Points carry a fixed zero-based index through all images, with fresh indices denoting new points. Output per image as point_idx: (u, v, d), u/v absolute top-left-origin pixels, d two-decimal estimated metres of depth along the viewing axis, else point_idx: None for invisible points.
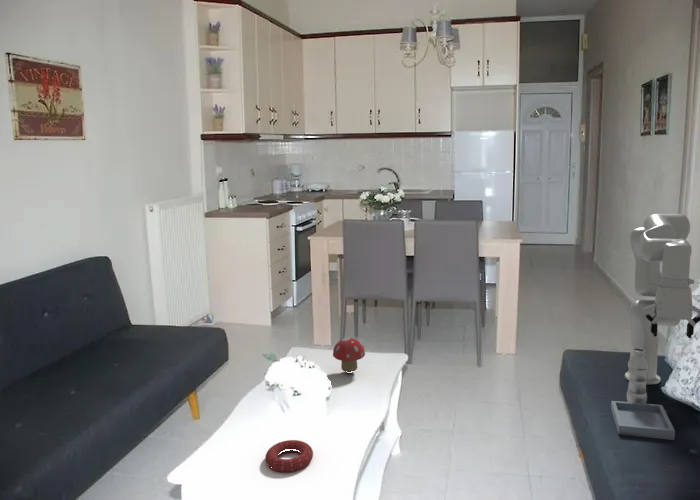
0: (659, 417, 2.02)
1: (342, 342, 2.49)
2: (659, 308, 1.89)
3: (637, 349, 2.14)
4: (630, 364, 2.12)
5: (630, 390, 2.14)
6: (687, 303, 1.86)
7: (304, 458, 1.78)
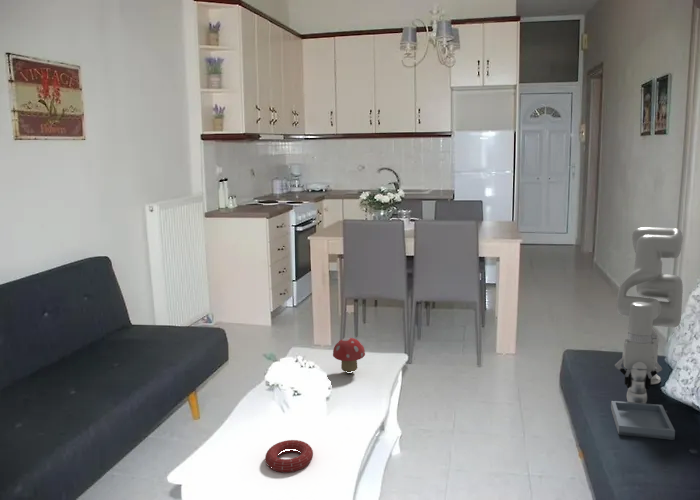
0: (659, 417, 2.02)
1: (342, 342, 2.49)
2: (626, 360, 2.12)
3: None
4: None
5: (630, 390, 2.14)
6: (650, 356, 2.09)
7: (304, 458, 1.78)
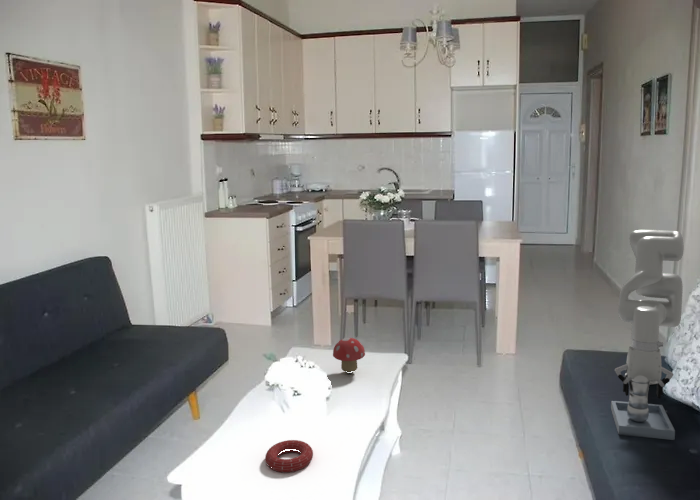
0: (659, 417, 2.02)
1: (342, 342, 2.49)
2: (630, 369, 1.97)
3: None
4: None
5: (630, 405, 1.99)
6: (656, 365, 1.94)
7: (304, 458, 1.78)
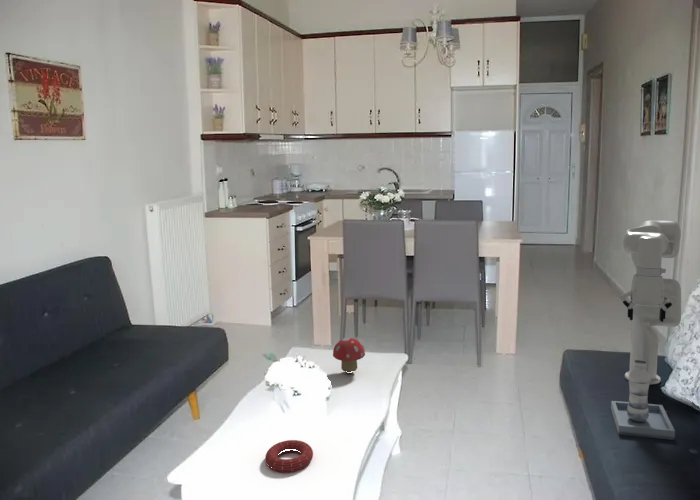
0: (659, 417, 2.02)
1: (342, 342, 2.49)
2: (634, 295, 2.10)
3: (638, 361, 1.99)
4: (630, 377, 1.98)
5: (630, 405, 1.99)
6: (659, 290, 2.07)
7: (304, 458, 1.78)
